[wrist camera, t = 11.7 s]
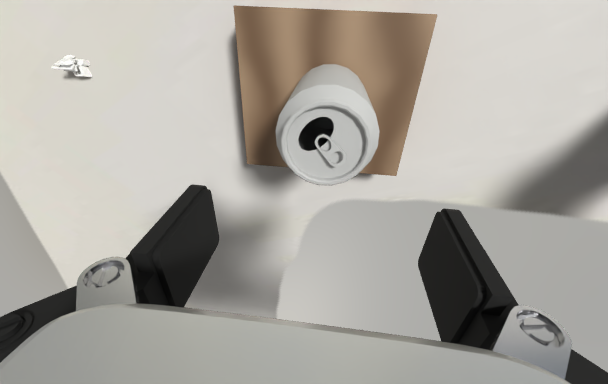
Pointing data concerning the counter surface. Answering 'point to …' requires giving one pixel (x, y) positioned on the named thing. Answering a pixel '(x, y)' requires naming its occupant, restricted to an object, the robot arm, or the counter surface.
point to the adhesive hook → (74, 66)
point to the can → (328, 126)
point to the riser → (330, 50)
